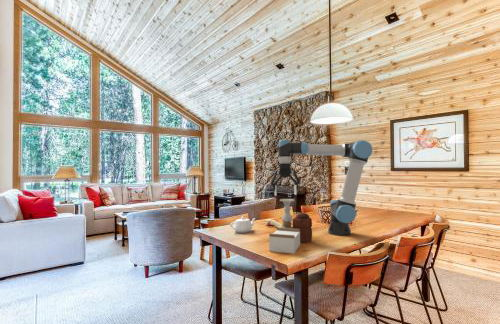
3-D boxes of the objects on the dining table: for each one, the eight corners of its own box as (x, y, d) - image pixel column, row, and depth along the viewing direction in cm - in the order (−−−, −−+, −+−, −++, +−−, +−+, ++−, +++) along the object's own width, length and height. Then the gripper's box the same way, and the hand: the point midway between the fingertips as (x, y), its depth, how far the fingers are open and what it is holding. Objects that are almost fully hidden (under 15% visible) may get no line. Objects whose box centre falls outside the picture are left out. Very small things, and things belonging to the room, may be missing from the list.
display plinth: (300, 244, 168) (299, 228, 168) (294, 253, 151) (294, 235, 151) (277, 242, 173) (277, 227, 173) (269, 251, 156) (269, 233, 156)
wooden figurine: (308, 239, 179) (307, 211, 179) (313, 242, 173) (312, 213, 173) (291, 241, 176) (290, 212, 176) (295, 243, 170) (295, 214, 170)
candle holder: (295, 236, 188) (294, 200, 189) (278, 235, 191) (278, 200, 191) (295, 232, 199) (295, 198, 200) (280, 231, 201) (279, 198, 202)
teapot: (235, 235, 192) (235, 219, 192) (225, 231, 204) (225, 216, 204) (261, 230, 204) (261, 216, 205) (251, 227, 216) (250, 213, 216)
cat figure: (289, 231, 208) (271, 222, 230) (290, 219, 208) (271, 212, 230) (279, 233, 203) (260, 224, 225) (279, 221, 203) (261, 213, 225)
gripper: (300, 162, 192) (301, 193, 191) (265, 163, 188) (266, 195, 188) (304, 162, 184) (305, 194, 184) (267, 163, 181) (268, 196, 180)
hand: (285, 195), depth 186 cm, fingers open, 13 cm apart
